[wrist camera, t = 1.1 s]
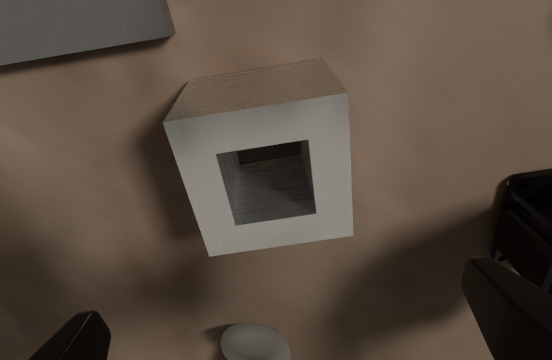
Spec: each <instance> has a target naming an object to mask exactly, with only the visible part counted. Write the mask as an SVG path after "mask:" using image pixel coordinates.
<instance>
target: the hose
mask: <svg viewBox="0 0 552 360" xmlns="http://www.w3.org/2000/svg"><path fill="white" fill-rule="evenodd" d="M220 344H221V348H222V353H223V354H224V356H225V357H226V358H227V359H228V360H290V347H289V345H288V343H287V341H286V338H285V337H284V336H283V335H282V334H281V333H280V332H279V331H278V330H276V329H274V328H272V327H269V326H261V325H250V324H234V325H231V326H229V327H228V328H227V329H226V330H225V331H224V332H223V334H222V337H221V341H220Z"/></svg>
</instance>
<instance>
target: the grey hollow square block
mask: <svg viewBox="0 0 552 360" xmlns="http://www.w3.org/2000/svg"><path fill="white" fill-rule="evenodd" d="M163 125H164V128H165V131H166V134H167V137H168V139H169V142H170V145H171V148H172V151H173V154H174V157H175V160H176V162H177V165H178V168H179V171H180V174H181V177H182V180H183V182H184V185H185V188H186V191H187V194H188V197H189V200H190V203H191V205H192V208H193V211H194V214H195V217H196V220H197V223H198V225H199V228H200V231H201V234H202V237H203V240H204V243H205V246H206V248H207V251H208V254H209V257H210V256H217V255H224V254H230V253H237V252H244V251H251V250H258V249H265V248H272V247H278V246H285V245H292V244H299V243H306V242H313V241H320V240H326V239H333V238H340V237H347V236H353V213H352V186H351V159H350V132H349V106H348V92H347V91H346V89H345V88H344V87H343V85H342V84H341V83H340V81H339V80H338V79H337V77H336V76H335V75H334V73H333V72H332V71H331V69H330V68H329V67H328V65H327V64H326V63H325V61H324V60H323V59H322V58H320V59H314V60H308V61H301V62H295V63H289V64H283V65H277V66H271V67H265V68H259V69H253V70H247V71H241V72H235V73H229V74H223V75H217V76H211V77H205V78H199V79H193V80H189V81H188V82H187V84H186V86H185V87H184V89H183V90H182V92H181V94H180V95H179V97H178V99H177V100H176V102H175V103H174V105H173V107H172V108H171V110H170V111H169V113H168V115H167V116H166V118H165V119H164V121H163ZM295 141H300V144H301V152H302V155H296V156H289V157H283V158H276V159H270V160H263V161H257V162H251V163H244V164H240V160H239V155H238V150H244V149H251V148H257V147H263V146H270V145H276V144H283V143H289V142H295Z"/></svg>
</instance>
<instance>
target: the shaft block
mask: <svg viewBox="0 0 552 360" xmlns="http://www.w3.org/2000/svg"><path fill="white" fill-rule="evenodd" d="M174 33H175V30H174V26H173V23H172V19H171V16H170V12H169V9H168V5H167V2H166V0H0V65H6V64H12V63H18V62H24V61H29V60H35V59H41V58H47V57H53V56H59V55H64V54H70V53H76V52H82V51H88V50H94V49H100V48H105V47H111V46H117V45H123V44H129V43H135V42H141V41H146V40H152V39H158V38H164V37H170V36H171V35H173V34H174Z"/></svg>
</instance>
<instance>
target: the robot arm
mask: <svg viewBox="0 0 552 360" xmlns="http://www.w3.org/2000/svg"><path fill="white" fill-rule="evenodd" d="M521 182H522V183H521ZM520 183H521V184H520ZM519 184H520V185H519ZM491 258H492V259H491ZM491 258H489V257H487V256H477V257H470V258H468V259H467V260H466V261H465V266H464V271H463V276H462V282H461V283H462V289H463V292H464V294H465V296H466V299H467V301H468V303H469V305H470V308H471V310H472V312H473V314H474V317H475V319H476V321H477V323H478V326H479V328H480V330H481V332H482V335H483V337H484V339H485V341H486V344H487V346H488V348H489V350H490V352H491V354H492V356H493V358H494V360H552V169H550V170H544V171H537V172H530V173H524V174H519V175H516V176H514V177H513V178H512V179H511V180H510V182H509V185H508V189H507V193H506V197H505V201H504V204H503V208H502V212H501V216H500V220H499V224H498V228H497V232H496V236H495V240H494V244H493V247H492V251H491ZM504 263H510V264H511V265H512V267H513V268H514V269H515V270H516V271H517V272H518V273H519V275H520V276H519V275H518V274H516V273H514V272H513V271H511V270H509V269H508V268H506V267H504V266H503V265H501V264H504ZM110 340H111V333H110V329H109V328H108V326H107V325H106V323H105V322H104V320H103V319H102V317H101V316H100V314H99V313H98V312H97V311H95V310H91V311H84V312H79V313H77V314H76V315H75V316H74V317H72V318H71V319H70V320H69V321H68V322H67V323H66V324H65V325H64V326H63V327H62V328H61V329H60V330H59V331H58V332H57V333H56V334H54V335H53V336H52V337H51V338H50V339H49V340H48V341H47V342H46V343H45V344H44V345H43V346H42V347H41V348H40V349H39V350H38V351H36V352H35V353H34V354H33V355H32V356H31V357H30V358H29V359H28V360H107V356H108V351H109V346H110Z"/></svg>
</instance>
